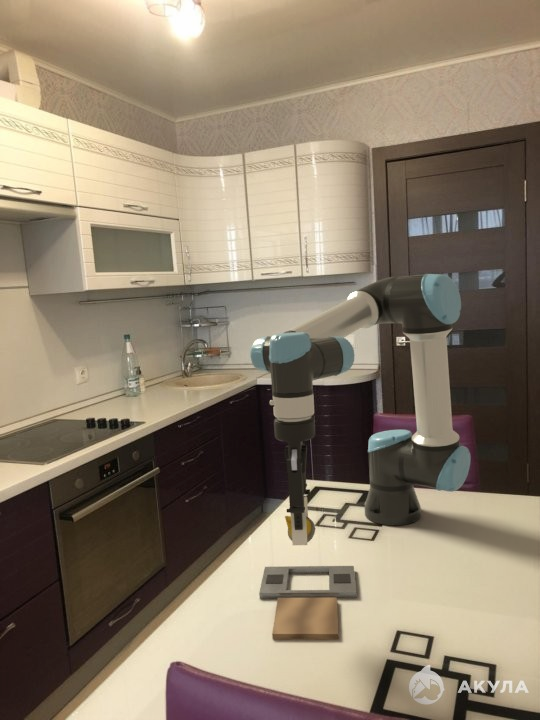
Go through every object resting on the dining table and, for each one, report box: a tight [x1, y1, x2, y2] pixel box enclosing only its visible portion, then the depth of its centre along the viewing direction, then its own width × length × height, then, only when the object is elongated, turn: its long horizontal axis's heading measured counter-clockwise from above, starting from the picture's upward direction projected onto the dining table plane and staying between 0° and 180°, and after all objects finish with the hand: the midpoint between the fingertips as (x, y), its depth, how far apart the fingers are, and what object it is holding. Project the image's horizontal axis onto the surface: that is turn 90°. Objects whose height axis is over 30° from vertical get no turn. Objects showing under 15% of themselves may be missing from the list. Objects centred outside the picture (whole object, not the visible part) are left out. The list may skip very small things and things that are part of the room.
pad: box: [271, 598, 339, 640], centre depth 108 cm, size 12×12×1 cm
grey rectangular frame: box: [258, 565, 357, 599], centre depth 121 cm, size 20×11×1 cm, turn 84°
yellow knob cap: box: [284, 515, 317, 544], centre depth 106 cm, size 5×5×10 cm
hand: (300, 535), depth 106 cm, fingers closed on yellow knob cap, 6 cm apart
